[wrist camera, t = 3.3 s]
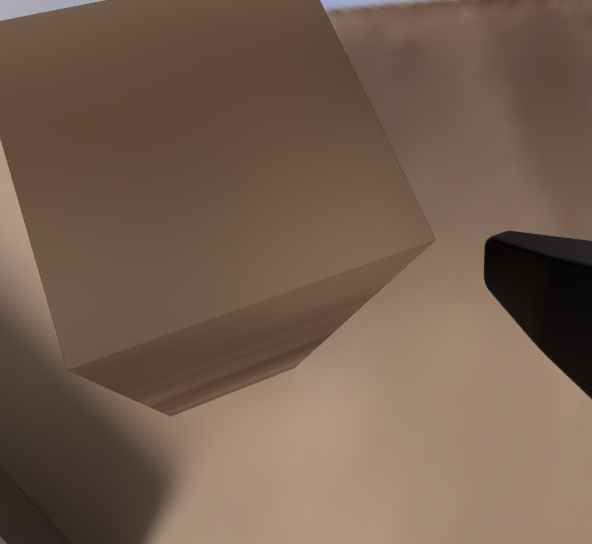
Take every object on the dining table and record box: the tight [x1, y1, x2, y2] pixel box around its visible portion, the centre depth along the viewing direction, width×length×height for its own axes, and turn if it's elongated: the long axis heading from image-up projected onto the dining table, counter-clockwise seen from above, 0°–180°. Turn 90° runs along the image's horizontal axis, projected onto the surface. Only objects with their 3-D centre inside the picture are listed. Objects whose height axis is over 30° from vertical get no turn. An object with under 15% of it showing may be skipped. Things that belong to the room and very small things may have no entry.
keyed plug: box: [0, 0, 436, 416], centre depth 12 cm, size 6×4×12 cm
